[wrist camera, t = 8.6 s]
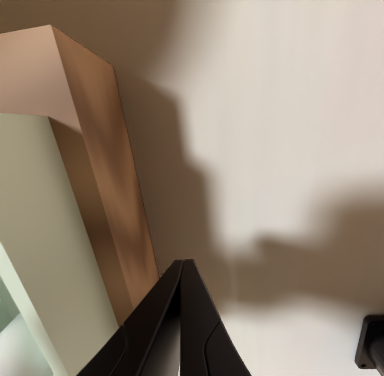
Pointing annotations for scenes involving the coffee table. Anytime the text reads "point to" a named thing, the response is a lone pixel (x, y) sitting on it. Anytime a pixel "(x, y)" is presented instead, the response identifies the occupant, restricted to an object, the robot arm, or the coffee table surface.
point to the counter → (86, 150)
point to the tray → (45, 260)
